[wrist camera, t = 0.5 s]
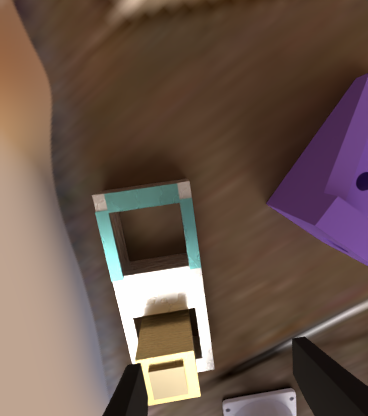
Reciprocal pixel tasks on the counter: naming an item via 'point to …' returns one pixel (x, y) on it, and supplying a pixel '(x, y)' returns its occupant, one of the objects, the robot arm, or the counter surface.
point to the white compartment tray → (154, 264)
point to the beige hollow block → (168, 357)
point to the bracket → (333, 178)
